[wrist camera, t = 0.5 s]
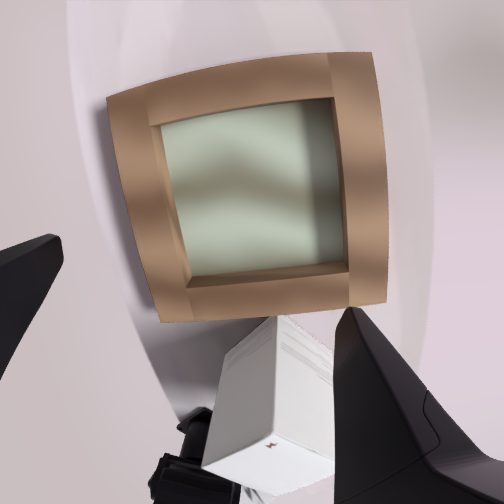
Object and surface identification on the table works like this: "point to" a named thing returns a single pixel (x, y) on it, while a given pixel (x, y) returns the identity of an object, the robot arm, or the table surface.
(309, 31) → the table surface
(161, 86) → the pocket board
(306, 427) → the supplement box
